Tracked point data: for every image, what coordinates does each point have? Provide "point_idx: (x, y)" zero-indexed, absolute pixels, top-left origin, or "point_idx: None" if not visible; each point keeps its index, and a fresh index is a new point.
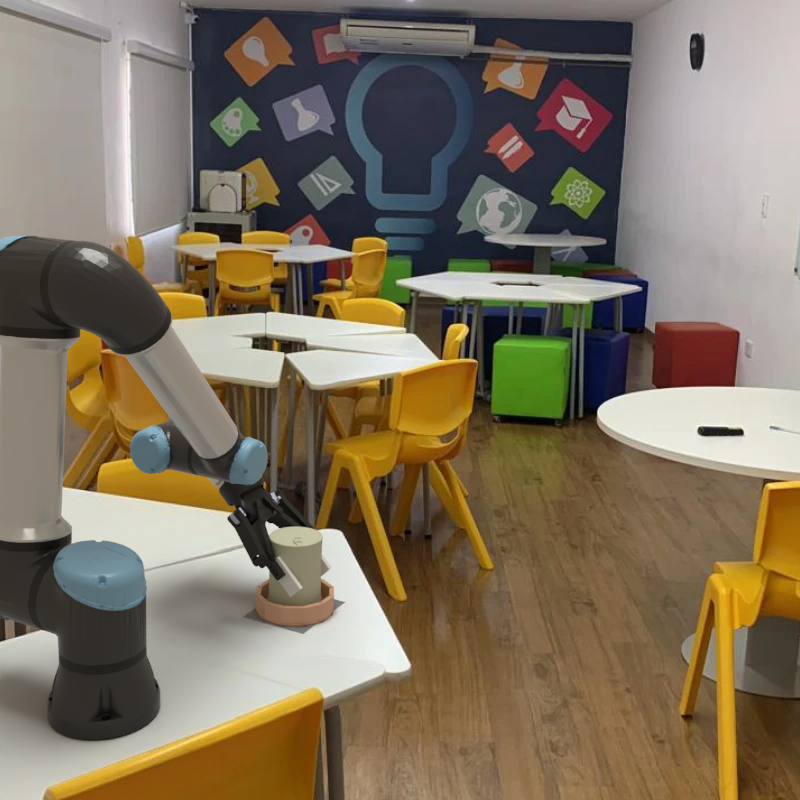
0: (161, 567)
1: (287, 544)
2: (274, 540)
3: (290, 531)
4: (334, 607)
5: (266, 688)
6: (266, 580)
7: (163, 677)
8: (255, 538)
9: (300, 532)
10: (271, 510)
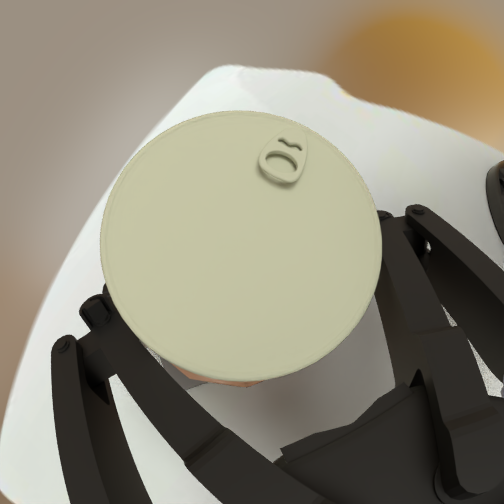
0: None
1: (339, 171)
2: (370, 246)
3: (222, 307)
4: None
5: (396, 127)
6: (258, 382)
7: (480, 229)
8: (466, 251)
9: (183, 260)
10: (308, 470)
